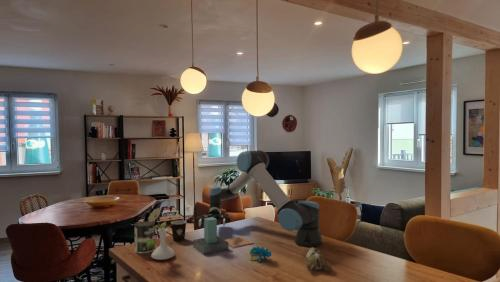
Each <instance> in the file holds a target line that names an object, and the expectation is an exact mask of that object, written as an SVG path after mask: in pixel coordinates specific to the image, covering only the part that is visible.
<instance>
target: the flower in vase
mask: <svg viewBox="0 0 500 282" xmlns="http://www.w3.org/2000/svg"><path fill="white" fill-rule="evenodd" d="M160 214H161V208H159V207H157V208H154V209H153V210H152V212H151V213H150V214H149V216H148V218H147V221H149V222H150V221H151V222H155V221H156V220H157V223H158V224H155V226H154V227H153V228H152V229H155V230H157V232H158V234H159V237H160V243H159V246H157V247H156V248H155V250H154V251H152V252H151V255H150V256H151V258H152V259H154V260H158V261H161V260H162V261H165V260H168V259H171V258H173V257H174V256H175V254H176V252H175V250H174V249H172V248H171V247H170V246H168V245H167V243H166V237H167V236H166V234H167V232H169V231H168V230H169V228H165V227H166V226H167V221H164V222H162V223H160V221H159V219H158V218H159V216H160ZM158 228H159V229H158Z"/></svg>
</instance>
